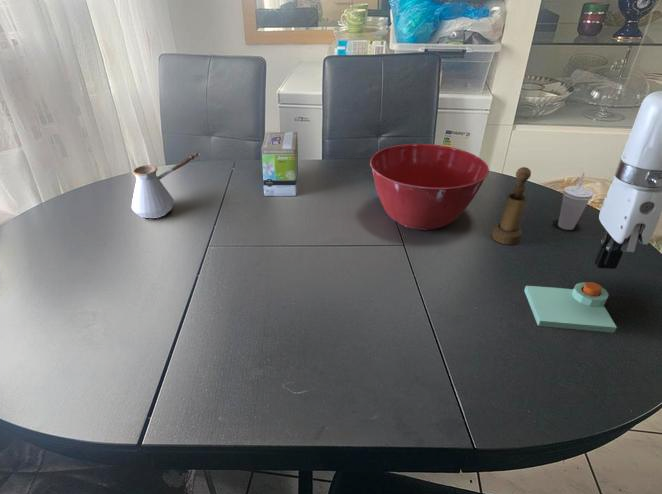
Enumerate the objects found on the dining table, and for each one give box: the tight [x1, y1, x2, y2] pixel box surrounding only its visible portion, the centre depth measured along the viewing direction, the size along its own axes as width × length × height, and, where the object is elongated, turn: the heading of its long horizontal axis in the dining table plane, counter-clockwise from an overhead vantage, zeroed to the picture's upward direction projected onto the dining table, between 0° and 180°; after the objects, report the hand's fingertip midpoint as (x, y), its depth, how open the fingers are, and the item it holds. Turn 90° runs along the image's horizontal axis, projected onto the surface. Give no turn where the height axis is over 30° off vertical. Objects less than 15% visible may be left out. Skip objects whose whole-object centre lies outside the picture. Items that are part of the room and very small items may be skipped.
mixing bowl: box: [369, 143, 490, 231], centre depth 114 cm, size 28×28×15 cm
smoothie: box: [557, 172, 594, 231], centre depth 109 cm, size 6×6×14 cm
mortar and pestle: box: [491, 166, 532, 246], centre depth 104 cm, size 7×6×18 cm
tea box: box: [261, 131, 299, 197], centre depth 134 cm, size 15×10×15 cm, turn 178°
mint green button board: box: [523, 281, 618, 334], centre depth 86 cm, size 14×11×3 cm
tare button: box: [583, 281, 603, 296], centre depth 86 cm, size 3×3×2 cm
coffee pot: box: [131, 152, 203, 218], centre depth 123 cm, size 21×12×15 cm, turn 114°
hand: (604, 265), depth 83 cm, fingers closed
